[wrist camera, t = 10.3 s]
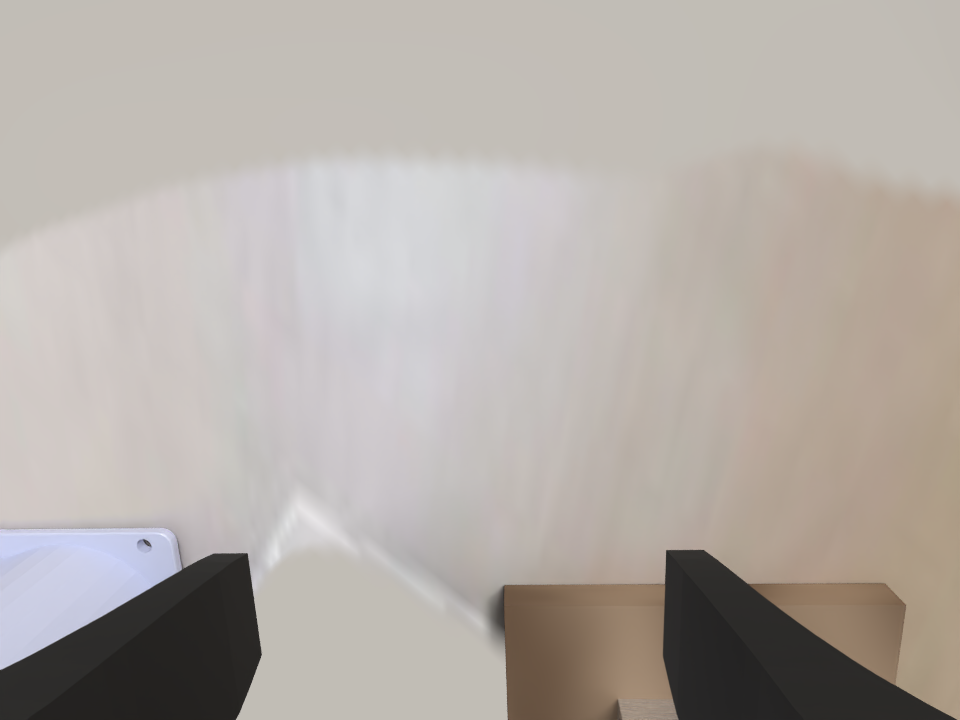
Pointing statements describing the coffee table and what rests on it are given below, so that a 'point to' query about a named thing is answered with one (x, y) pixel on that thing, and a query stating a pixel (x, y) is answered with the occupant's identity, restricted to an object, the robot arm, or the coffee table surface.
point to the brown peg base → (659, 641)
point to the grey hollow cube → (646, 709)
